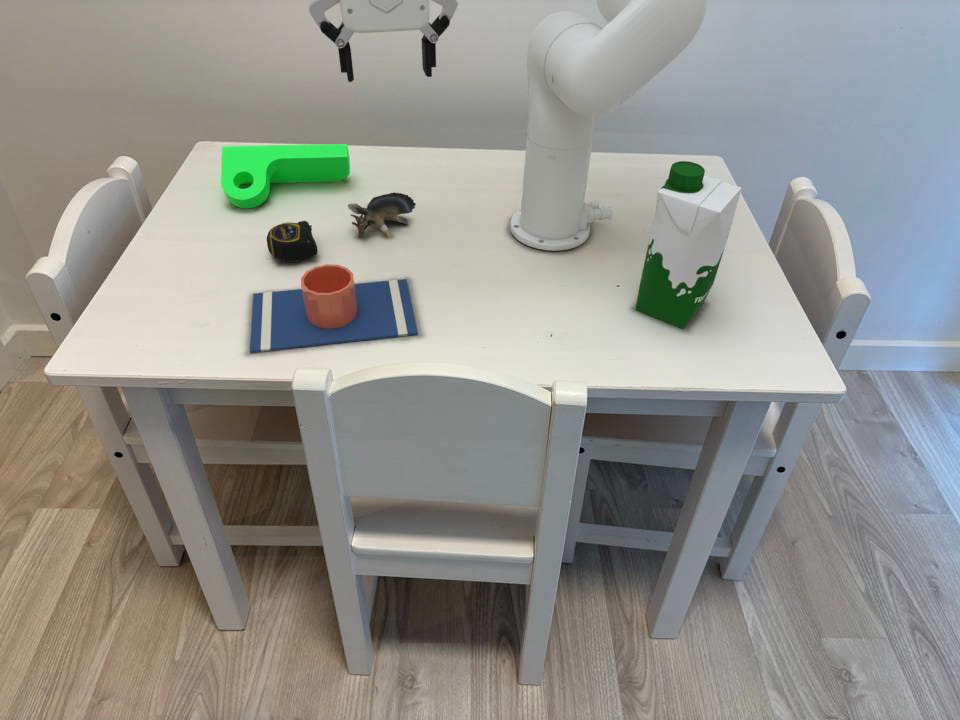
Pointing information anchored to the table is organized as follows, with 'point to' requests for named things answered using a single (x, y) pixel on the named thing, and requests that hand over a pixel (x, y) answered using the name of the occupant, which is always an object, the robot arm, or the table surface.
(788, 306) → the table surface
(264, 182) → the bracket
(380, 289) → the towel
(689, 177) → the milk carton
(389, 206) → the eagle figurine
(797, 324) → the table surface
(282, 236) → the tape measure
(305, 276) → the orange plastic cup
